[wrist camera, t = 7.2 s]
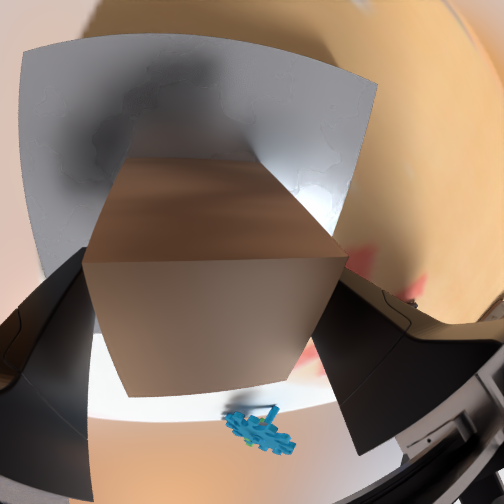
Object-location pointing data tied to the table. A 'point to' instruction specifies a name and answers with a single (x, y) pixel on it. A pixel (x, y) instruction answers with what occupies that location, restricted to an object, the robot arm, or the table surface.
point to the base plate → (178, 123)
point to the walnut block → (206, 275)
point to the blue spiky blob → (261, 432)
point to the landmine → (494, 312)
